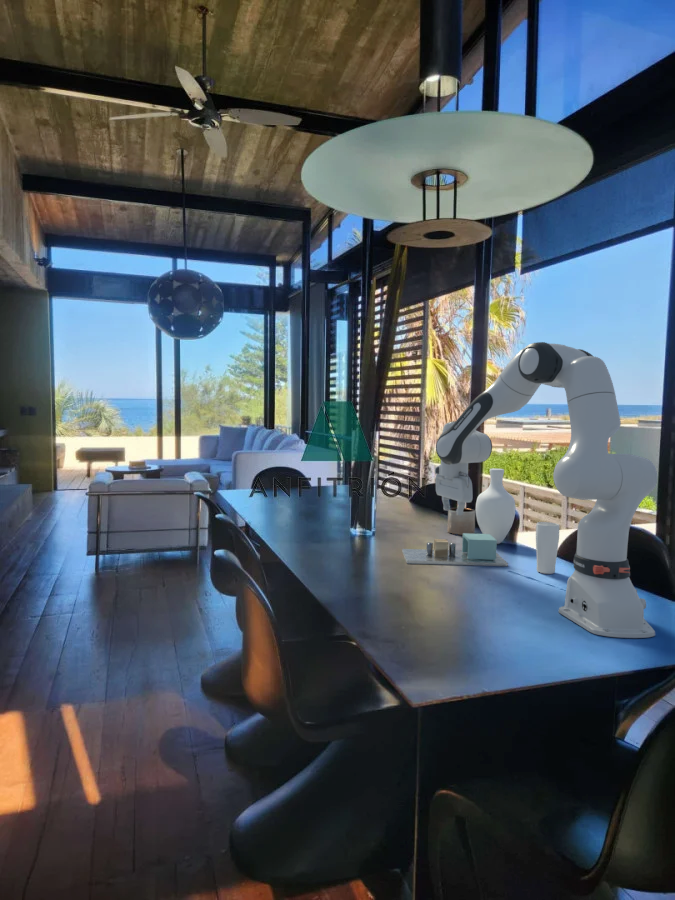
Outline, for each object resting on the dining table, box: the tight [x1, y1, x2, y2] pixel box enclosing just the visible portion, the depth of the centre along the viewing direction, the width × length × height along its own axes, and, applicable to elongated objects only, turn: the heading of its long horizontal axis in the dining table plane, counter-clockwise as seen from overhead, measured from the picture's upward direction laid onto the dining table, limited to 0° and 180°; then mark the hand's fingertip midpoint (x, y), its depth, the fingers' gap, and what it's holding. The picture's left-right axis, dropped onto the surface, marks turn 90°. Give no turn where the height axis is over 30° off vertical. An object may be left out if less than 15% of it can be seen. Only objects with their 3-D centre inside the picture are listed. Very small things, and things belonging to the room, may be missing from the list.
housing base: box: [401, 542, 509, 567], centre depth 194 cm, size 16×32×5 cm, turn 89°
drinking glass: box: [535, 521, 560, 575], centre depth 179 cm, size 7×7×15 cm
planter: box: [446, 507, 476, 536], centre depth 238 cm, size 11×11×10 cm
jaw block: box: [433, 538, 449, 557], centre depth 194 cm, size 4×4×5 cm
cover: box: [461, 533, 498, 560], centre depth 194 cm, size 10×9×6 cm
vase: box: [475, 467, 516, 545], centre depth 219 cm, size 14×14×28 cm
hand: (452, 512), depth 193 cm, fingers open, 8 cm apart
